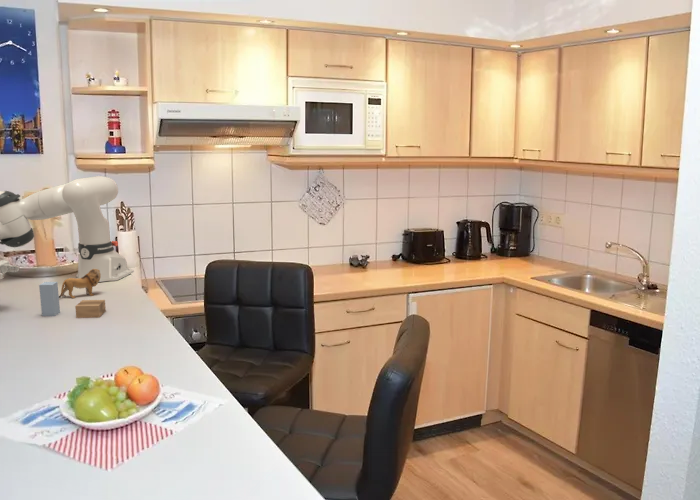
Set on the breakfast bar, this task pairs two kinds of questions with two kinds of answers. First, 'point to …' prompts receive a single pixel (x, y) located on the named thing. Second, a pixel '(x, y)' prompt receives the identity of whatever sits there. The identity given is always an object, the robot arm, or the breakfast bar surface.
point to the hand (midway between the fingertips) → (10, 272)
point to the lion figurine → (81, 283)
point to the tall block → (49, 298)
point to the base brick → (90, 308)
